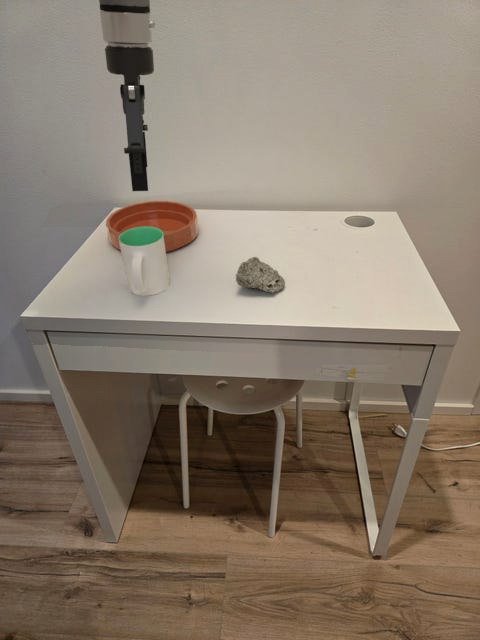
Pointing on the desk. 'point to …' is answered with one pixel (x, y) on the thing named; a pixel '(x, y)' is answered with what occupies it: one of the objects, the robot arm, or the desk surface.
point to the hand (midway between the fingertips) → (140, 177)
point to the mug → (144, 260)
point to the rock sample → (259, 276)
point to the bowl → (156, 222)
